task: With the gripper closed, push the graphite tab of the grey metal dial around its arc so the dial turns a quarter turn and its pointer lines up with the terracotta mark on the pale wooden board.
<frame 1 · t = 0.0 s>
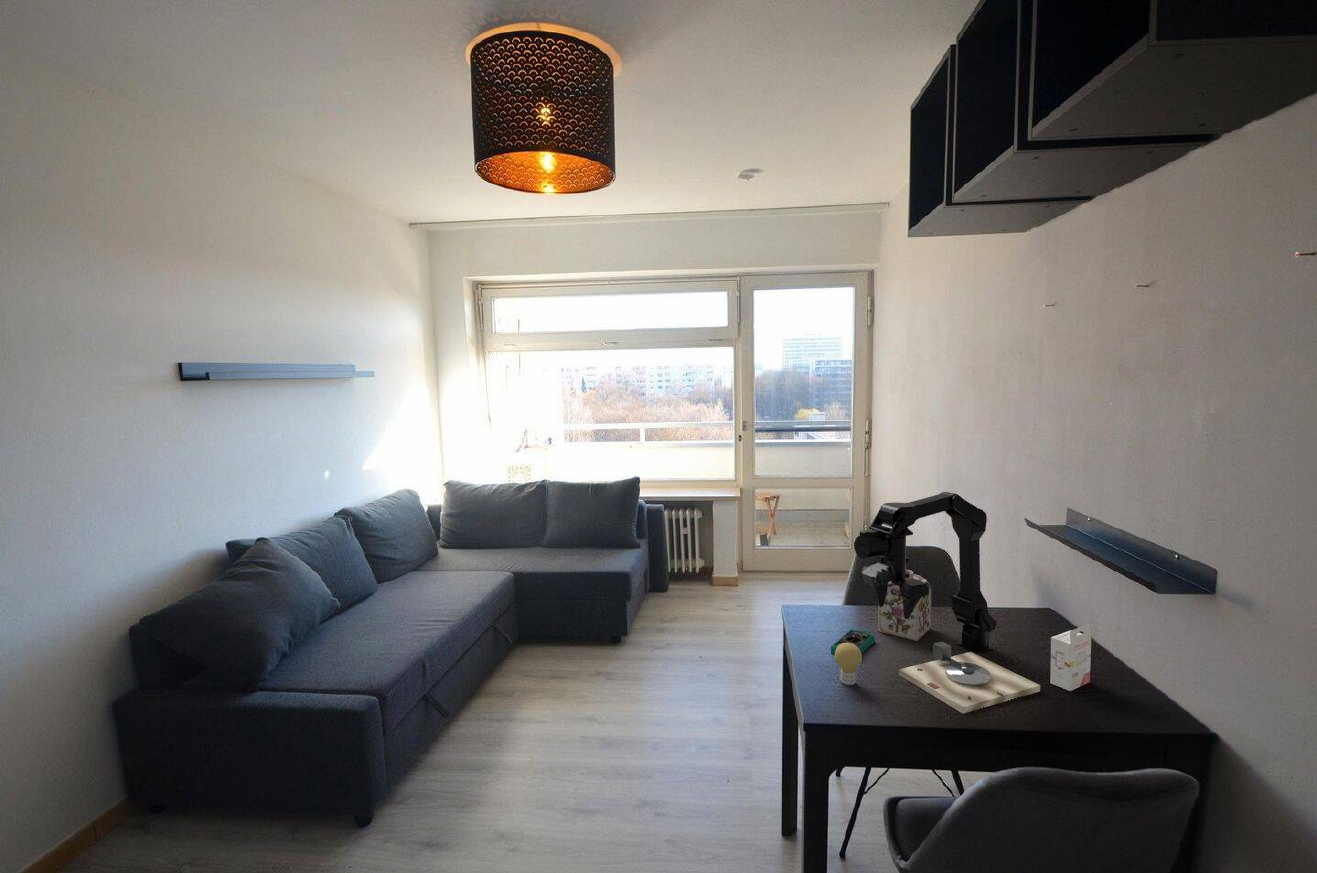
hand: (893, 612, 163), 15 cm above the table, tool pointing down, fingers open, 9 cm apart
dial: (960, 663, 156), point 4 cm above the table, hinge at -90.0°
dial board: (967, 683, 155), on the table
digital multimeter: (853, 649, 176), on the table
ink cartridge box: (1069, 683, 153), on the table
decorative jar: (904, 631, 187), on the table
light bulb: (848, 683, 157), on the table
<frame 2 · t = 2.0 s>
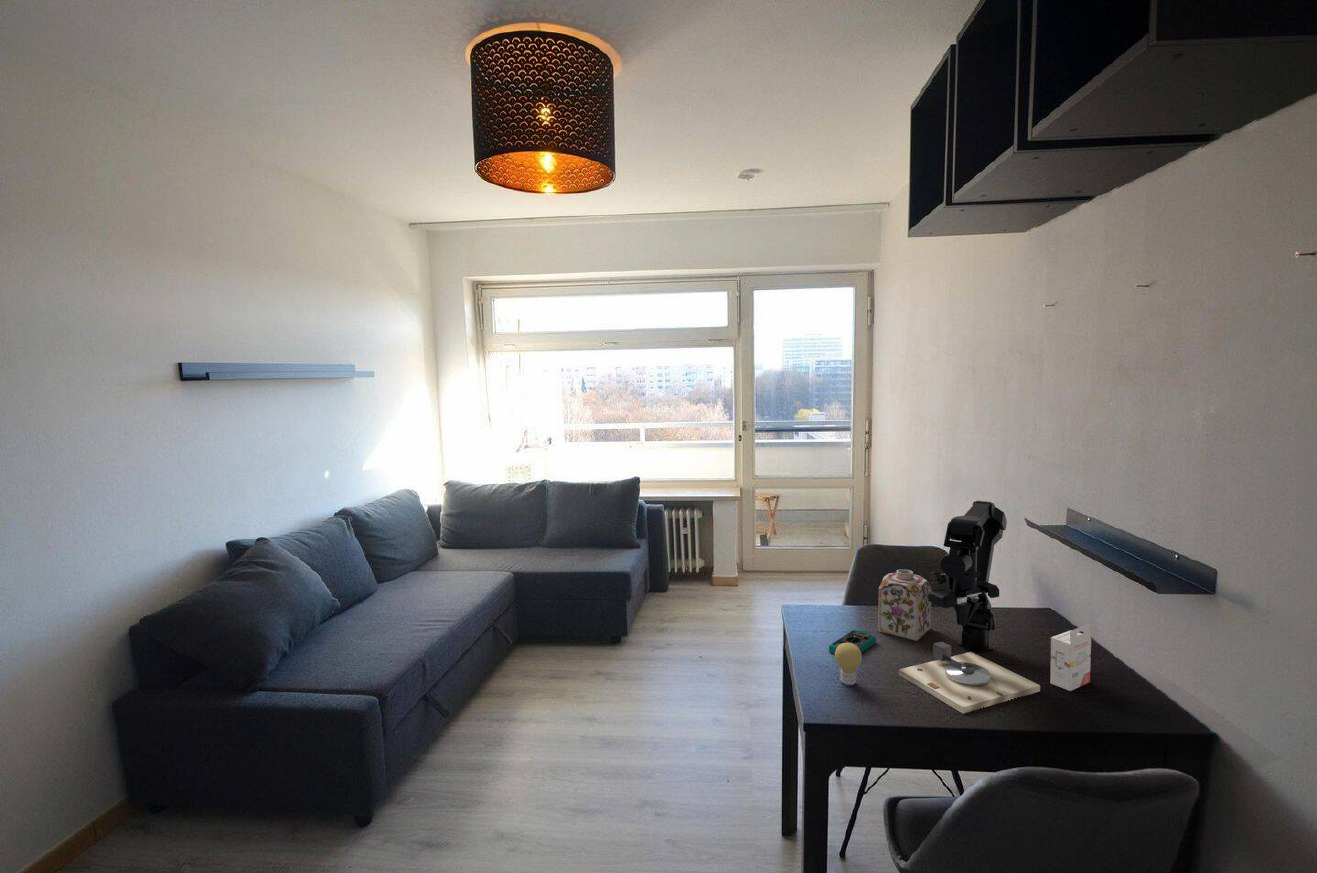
hand: (963, 625, 164), 10 cm above the table, tool pointing down, fingers closed
nothing on the table moved.
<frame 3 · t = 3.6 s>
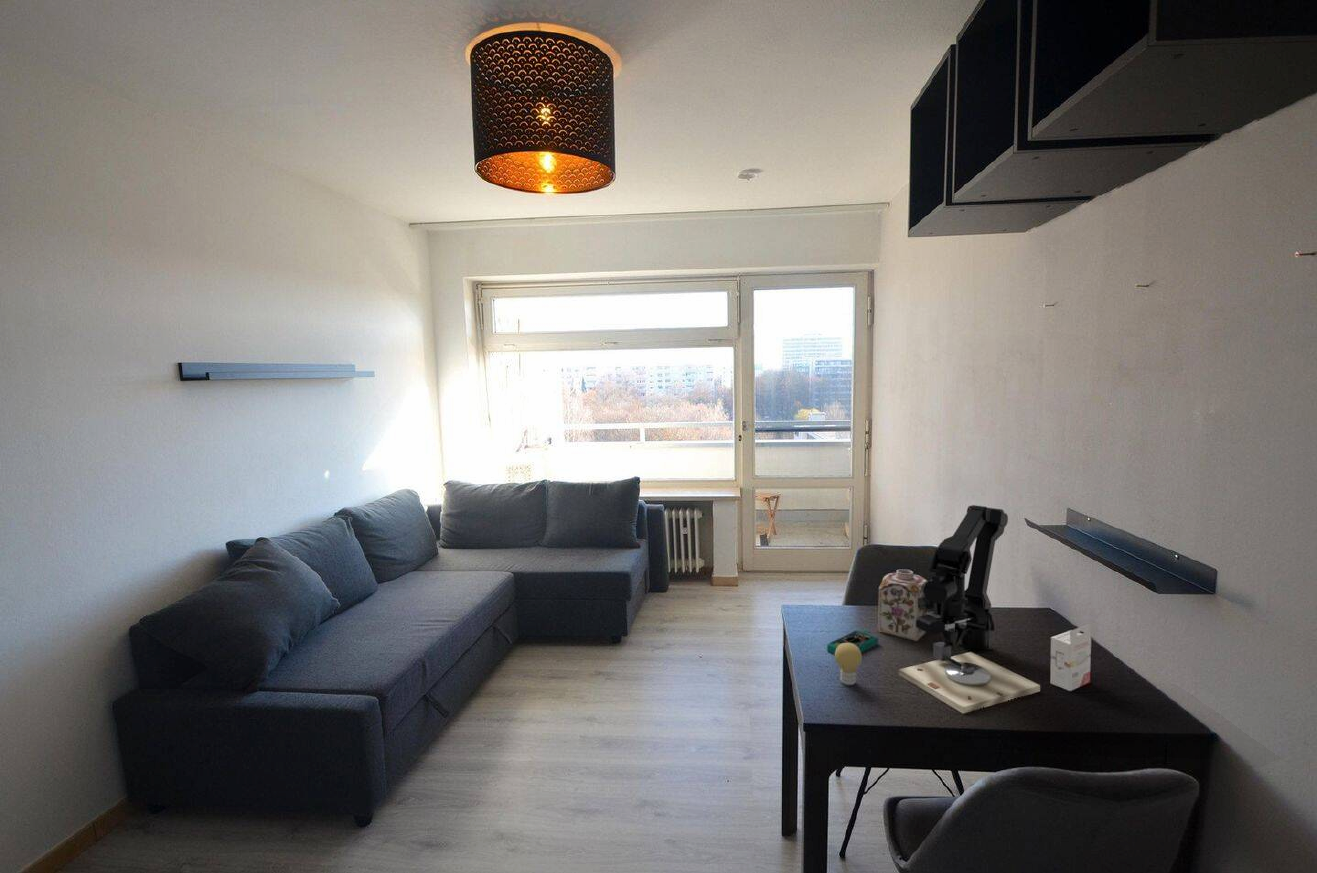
hand: (951, 651, 163), 4 cm above the table, tool pointing down, fingers closed
dial: (960, 663, 156), point 4 cm above the table, hinge at -90.0°, touching gripper
everything else where it was.
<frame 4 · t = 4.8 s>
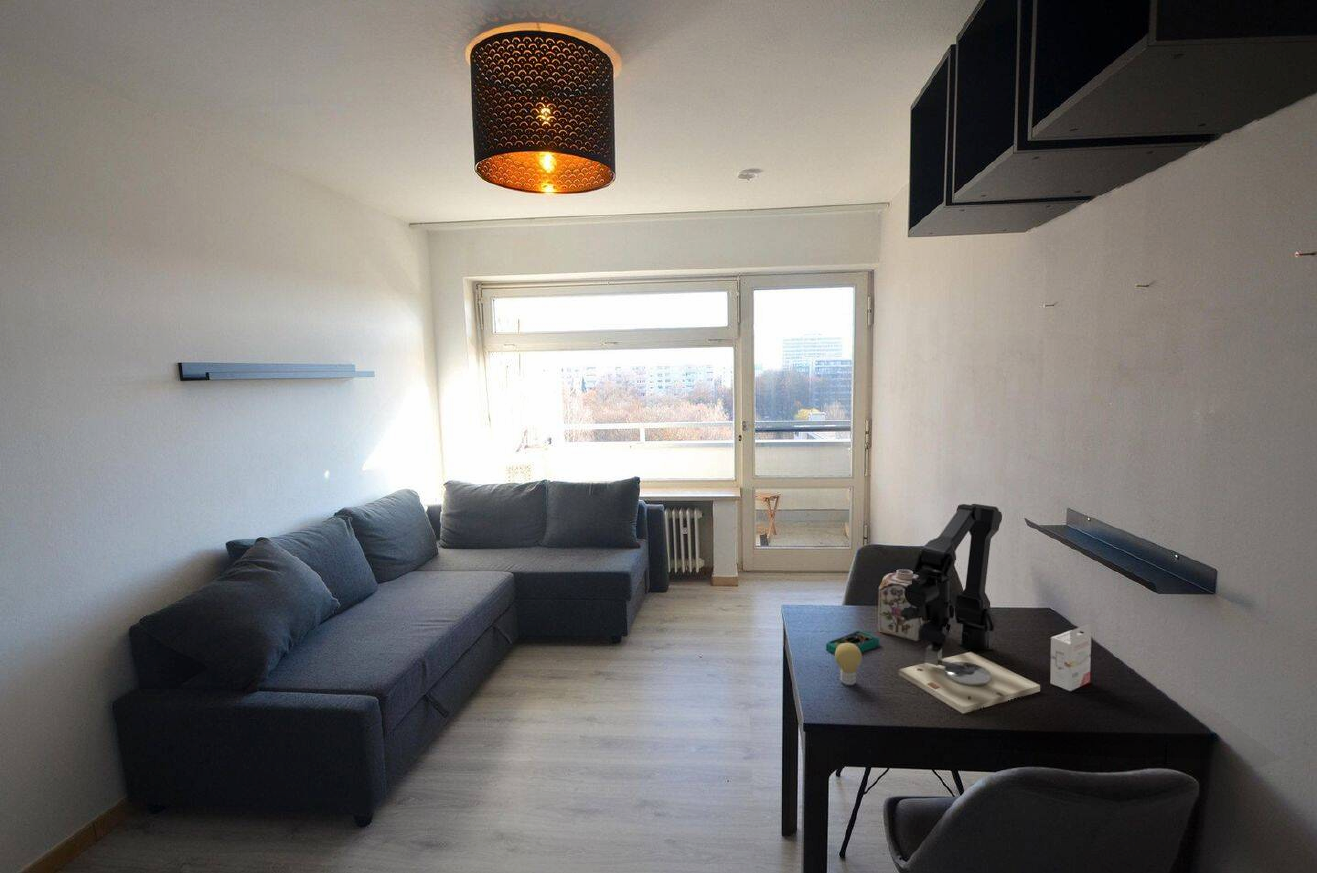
hand: (936, 653, 162), 4 cm above the table, tool pointing down, fingers closed
dial: (957, 664, 156), point 4 cm above the table, hinge at -63.0°, touching gripper
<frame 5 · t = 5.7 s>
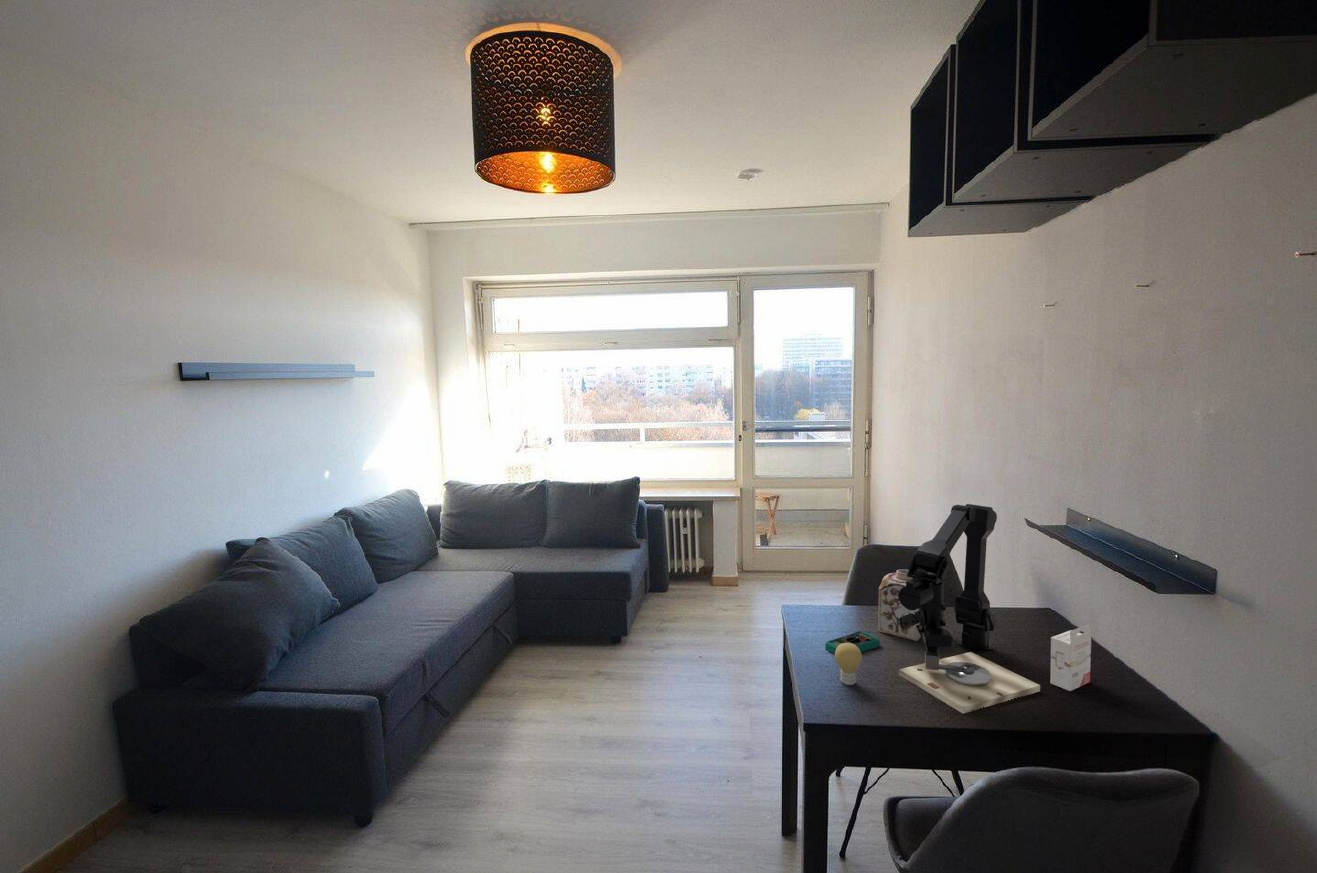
hand: (930, 657, 160), 4 cm above the table, tool pointing down, fingers closed
dial: (957, 665, 155), point 4 cm above the table, hinge at -41.0°, touching gripper
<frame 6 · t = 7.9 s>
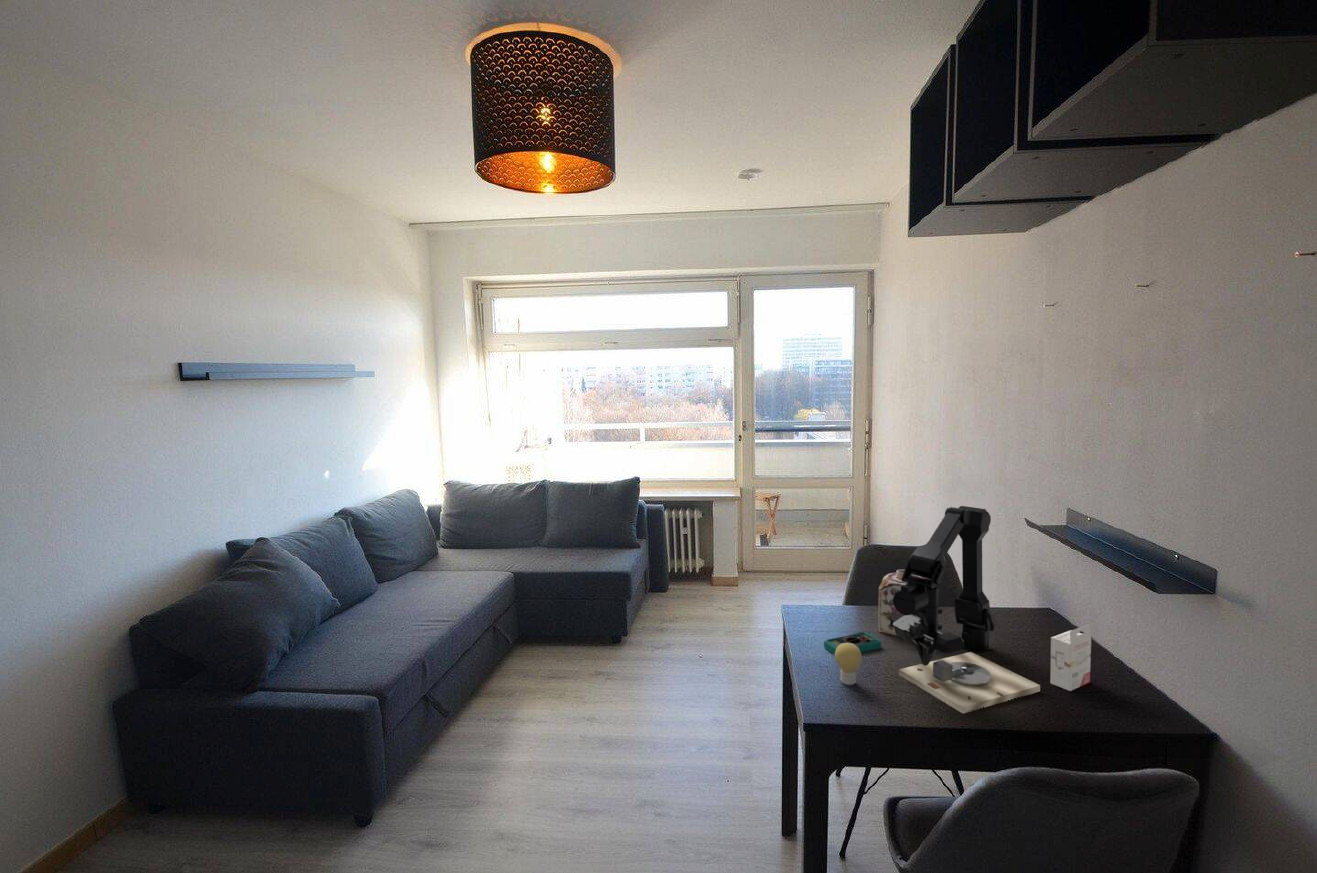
hand: (925, 664, 156), 4 cm above the table, tool pointing down, fingers closed
dial: (960, 668, 153), point 4 cm above the table, hinge at 0.7°
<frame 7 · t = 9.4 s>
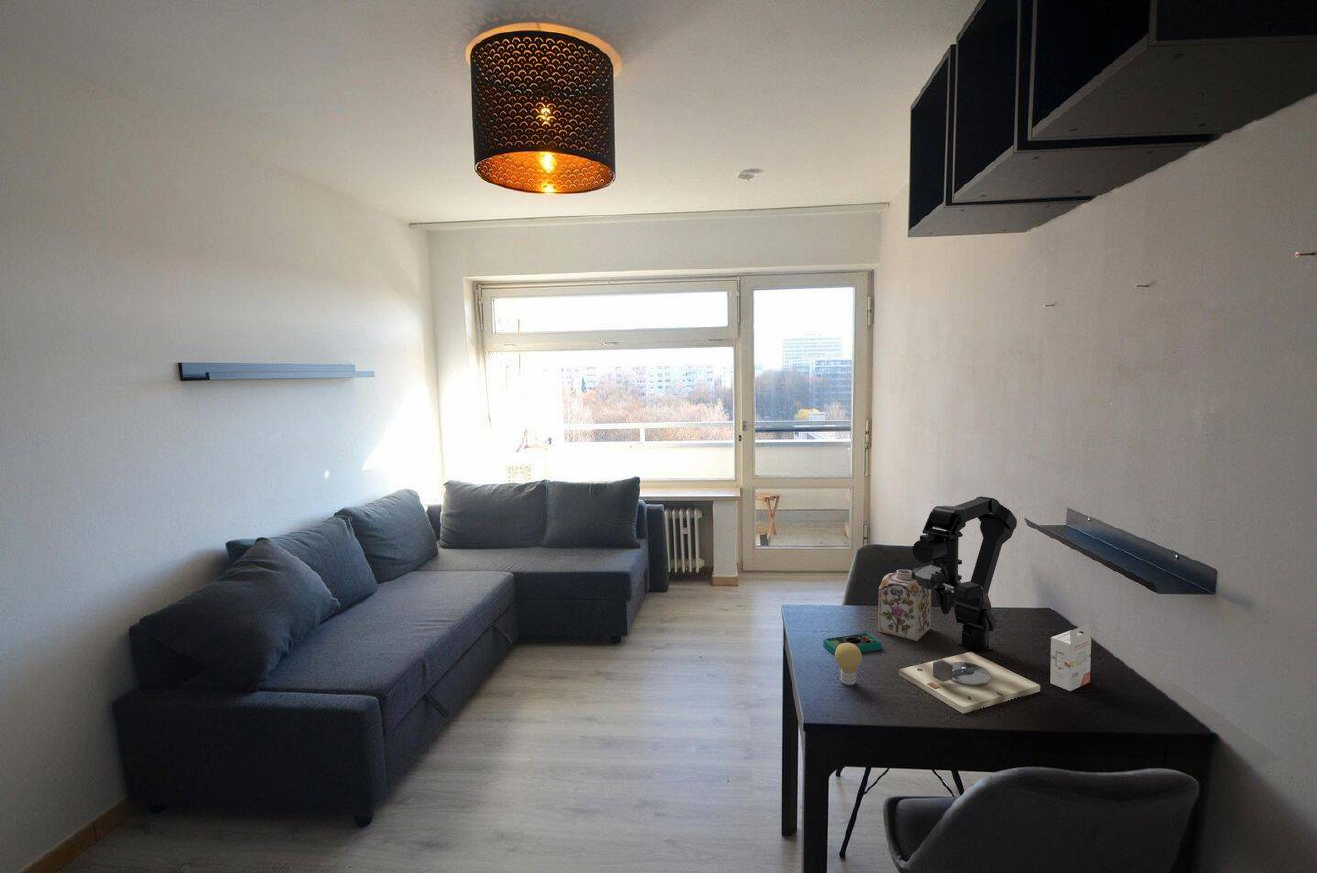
hand: (945, 613, 165), 13 cm above the table, tool pointing down, fingers closed
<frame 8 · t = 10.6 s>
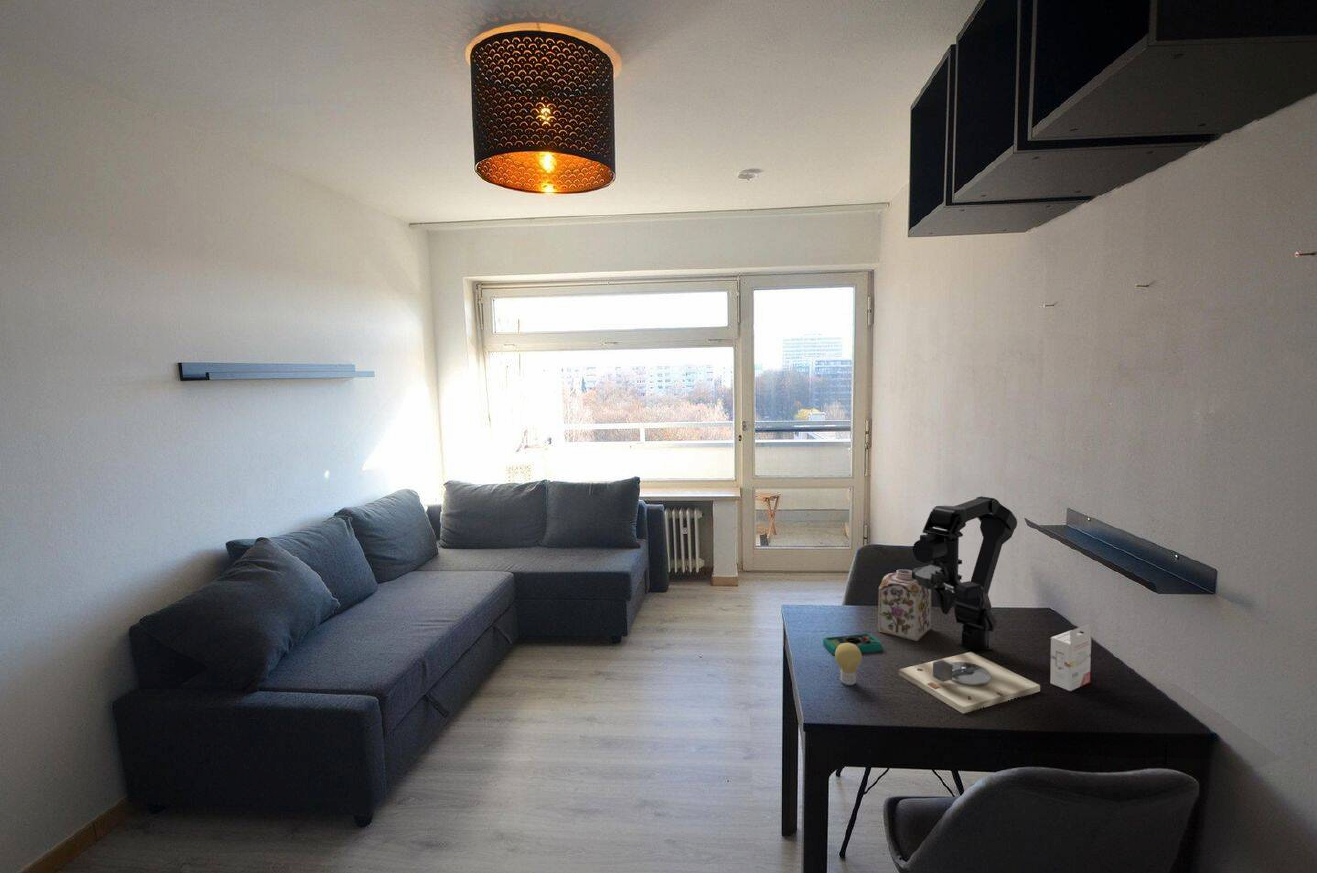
hand: (945, 613, 165), 13 cm above the table, tool pointing down, fingers closed
at the end: dial at +1° (first picture: -90°) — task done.
